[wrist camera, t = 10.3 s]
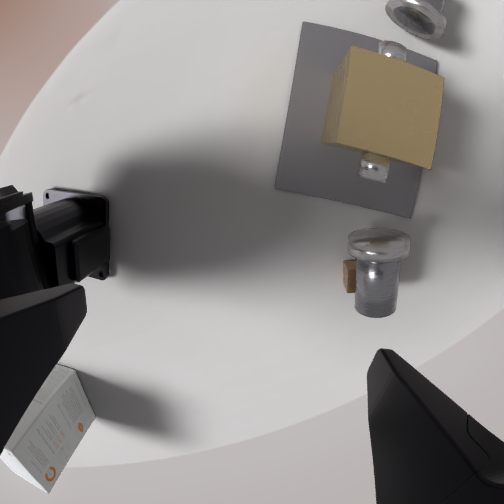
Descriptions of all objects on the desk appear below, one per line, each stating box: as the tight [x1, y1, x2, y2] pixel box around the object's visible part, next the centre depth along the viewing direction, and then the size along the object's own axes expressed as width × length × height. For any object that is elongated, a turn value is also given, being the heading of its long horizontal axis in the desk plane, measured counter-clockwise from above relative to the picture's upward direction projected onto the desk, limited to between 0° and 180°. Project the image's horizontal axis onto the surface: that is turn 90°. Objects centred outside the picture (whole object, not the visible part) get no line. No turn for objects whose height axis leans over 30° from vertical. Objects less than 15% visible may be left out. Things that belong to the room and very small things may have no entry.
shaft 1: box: [344, 228, 410, 318], centre depth 17 cm, size 4×4×5 cm
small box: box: [0, 364, 96, 493], centre depth 23 cm, size 8×6×13 cm
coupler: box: [321, 41, 444, 183], centre depth 13 cm, size 4×7×6 cm, turn 171°
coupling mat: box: [275, 22, 437, 218], centre depth 16 cm, size 9×11×1 cm
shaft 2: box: [386, 0, 447, 39], centre depth 11 cm, size 4×4×5 cm
